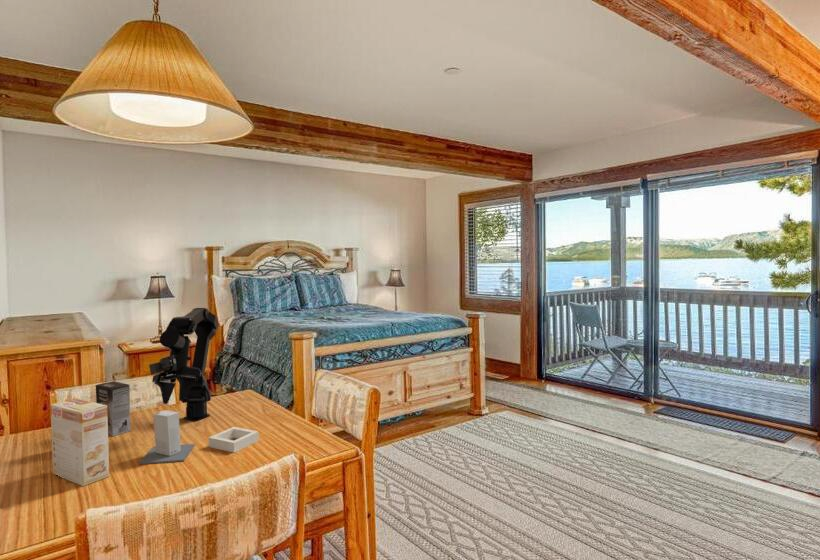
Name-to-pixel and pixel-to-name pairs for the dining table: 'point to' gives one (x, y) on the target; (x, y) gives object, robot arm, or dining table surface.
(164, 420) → the skincare box
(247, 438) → the white square frame
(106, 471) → the coffeecake box
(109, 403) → the coffee box
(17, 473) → the dining table surface
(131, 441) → the dining table surface
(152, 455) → the mat
